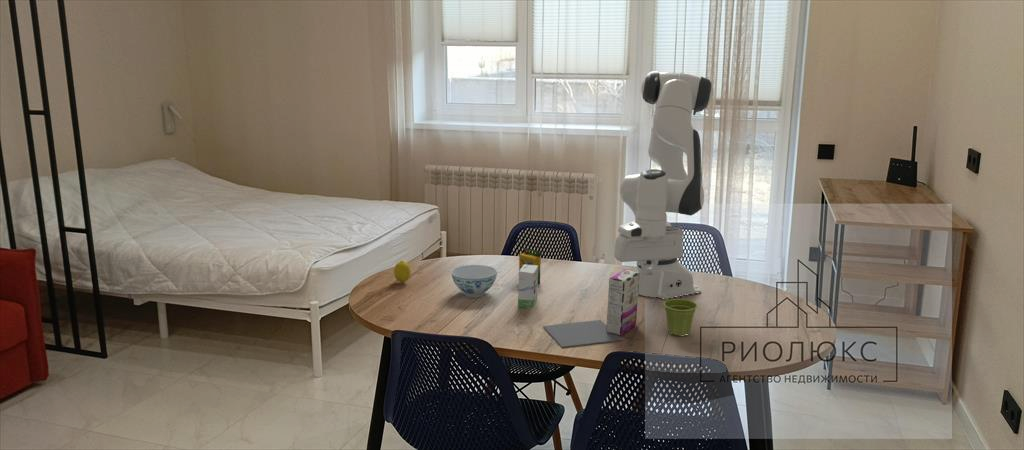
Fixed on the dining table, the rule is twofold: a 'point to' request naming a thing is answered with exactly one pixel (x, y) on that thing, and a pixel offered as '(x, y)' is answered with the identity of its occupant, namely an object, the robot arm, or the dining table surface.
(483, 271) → the chinaware
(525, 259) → the crayon box
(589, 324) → the mat
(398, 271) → the lemon
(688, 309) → the plant pot
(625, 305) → the candy bar box
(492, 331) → the dining table surface
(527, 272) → the ink box
